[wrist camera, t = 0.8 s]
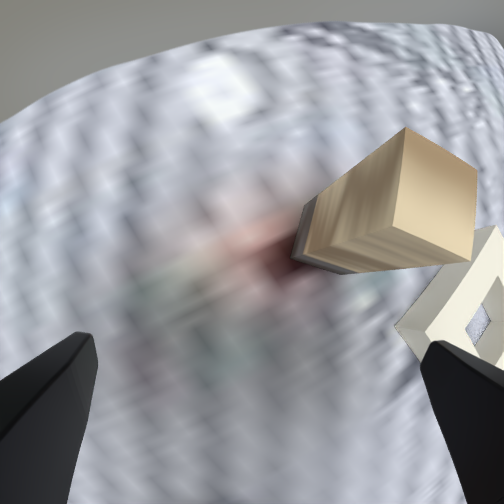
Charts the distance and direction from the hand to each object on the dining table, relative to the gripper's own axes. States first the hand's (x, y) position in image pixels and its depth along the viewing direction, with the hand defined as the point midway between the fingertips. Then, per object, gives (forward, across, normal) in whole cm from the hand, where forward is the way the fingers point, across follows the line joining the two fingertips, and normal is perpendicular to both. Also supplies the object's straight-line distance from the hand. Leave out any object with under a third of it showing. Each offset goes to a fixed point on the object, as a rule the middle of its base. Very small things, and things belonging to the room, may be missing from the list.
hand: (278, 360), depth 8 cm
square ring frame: (+12, -21, +8) cm, 26 cm away
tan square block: (+15, -6, +2) cm, 17 cm away
